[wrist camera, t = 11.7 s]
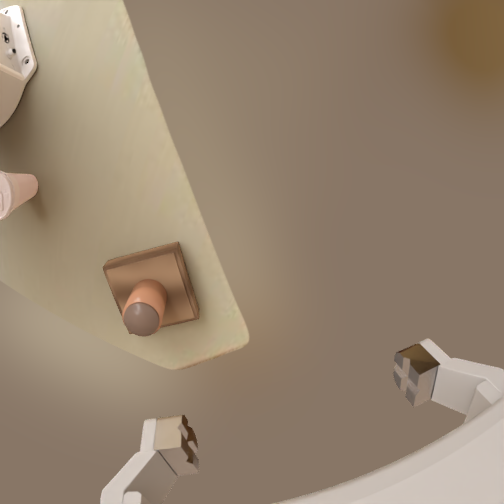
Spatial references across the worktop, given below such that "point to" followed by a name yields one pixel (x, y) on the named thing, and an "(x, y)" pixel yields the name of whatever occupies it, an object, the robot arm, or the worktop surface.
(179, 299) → the plinth
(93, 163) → the worktop surface
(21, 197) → the smoothie
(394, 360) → the robot arm
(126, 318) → the jar
